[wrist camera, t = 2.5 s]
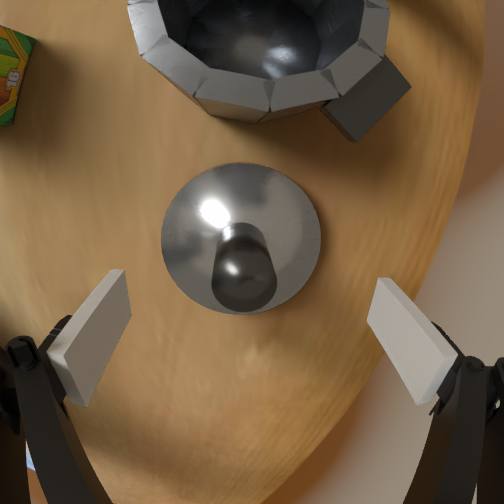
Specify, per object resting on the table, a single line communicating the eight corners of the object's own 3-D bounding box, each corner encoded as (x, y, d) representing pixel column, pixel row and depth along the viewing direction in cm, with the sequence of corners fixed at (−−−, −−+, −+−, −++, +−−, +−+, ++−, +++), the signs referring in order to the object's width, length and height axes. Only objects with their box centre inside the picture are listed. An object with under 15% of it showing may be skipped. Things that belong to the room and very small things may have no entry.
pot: (278, 176, 22) (306, 199, 13) (116, 43, 16) (62, 5, 8) (383, 74, 19) (450, 53, 10) (229, -50, 13) (229, -111, 5)
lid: (245, 323, 26) (249, 388, 19) (139, 242, 23) (101, 289, 15) (341, 232, 24) (385, 274, 16) (236, 129, 20) (237, 121, 13)
